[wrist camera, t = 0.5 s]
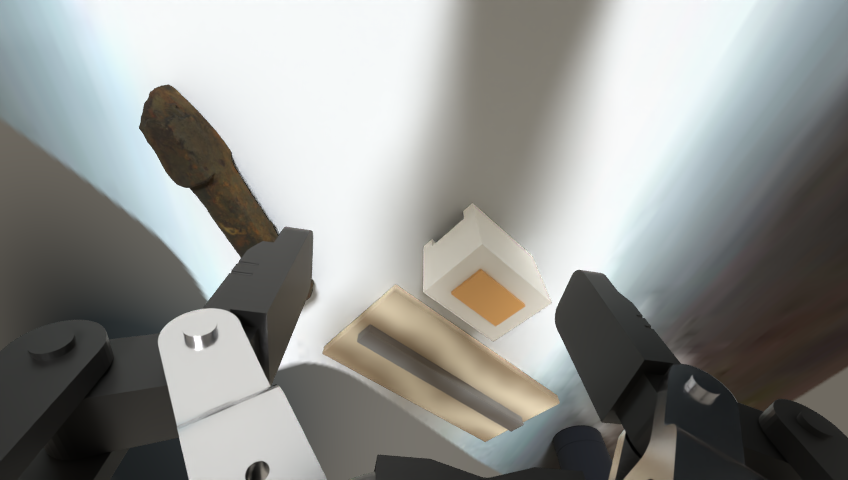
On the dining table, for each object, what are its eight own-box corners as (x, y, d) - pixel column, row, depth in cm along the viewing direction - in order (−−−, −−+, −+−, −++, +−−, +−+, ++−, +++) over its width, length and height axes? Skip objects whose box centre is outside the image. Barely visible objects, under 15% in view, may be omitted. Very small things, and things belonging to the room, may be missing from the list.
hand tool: (320, 279, 35) (307, 313, 31) (282, 288, 36) (265, 322, 32) (208, 72, 25) (168, 84, 21) (158, 88, 26) (110, 103, 22)
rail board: (395, 284, 35) (394, 298, 33) (557, 395, 45) (562, 410, 43) (324, 346, 40) (320, 361, 38) (484, 434, 49) (486, 449, 48)
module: (472, 202, 30) (482, 246, 25) (532, 255, 33) (553, 305, 28) (423, 246, 33) (423, 295, 27) (483, 292, 36) (493, 344, 30)
